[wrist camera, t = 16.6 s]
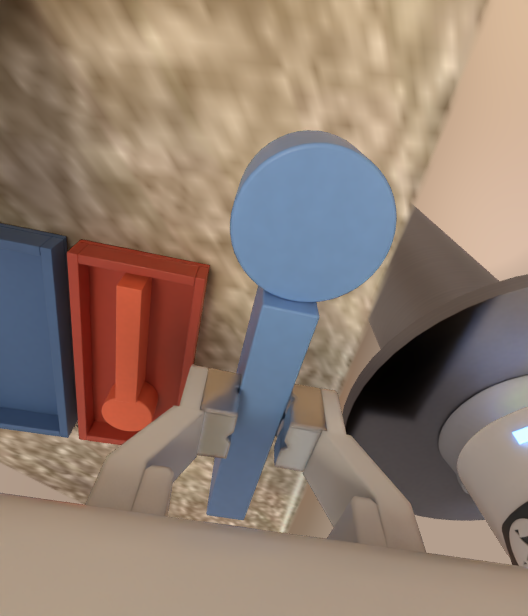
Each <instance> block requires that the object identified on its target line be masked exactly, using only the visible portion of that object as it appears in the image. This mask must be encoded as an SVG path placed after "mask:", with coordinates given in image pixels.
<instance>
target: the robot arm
mask: <svg viewBox="0 0 528 616" xmlns="http://www.w3.org/2000/svg"><path fill="white" fill-rule="evenodd" d="M208 370H209V371H208ZM241 377H242V376H241V374H238V373H233V372H228V371H223V370H219V369H214V368H207V367H202V366H198V365H193V364H192V365H191V367H190V370H189V374H188V377H187V381H186V384H185V388H184V391H183V395H182V398H181V402H180V405H179V406H173V407H171V408H170V409H169V410H167V411H166V412H165V413H163V414H162V415H161V416H159V417H158V418H157V419H155V420H154V421H153V422H151V423H150V424H149V425H147V426H146V427H145V428H143V429H142V430H141V431H139V432H138V433H137V434H135V435H134V436H133V437H131V438H130V439H129V440H127V441H126V442H125V443H123V444H122V445H121V446H119V447H118V448H117V449H115V450H114V451H113V452H111V453H110V454H109V455H107V456H106V459H105V461H104V463H103V465H102V468H101V470H100V472H99V474H98V477H97V479H96V481H95V483H94V486H93V488H92V490H91V492H90V495H89V497H88V499H87V501H86V503H85V505H83V504H76V503H68V502H61V501H53V500H47V499H40V498H33V497H26V496H18V495H12V494H5V493H0V616H528V375H525V376H521V377H517V378H513V379H510V380H507V381H504V382H501V383H499V384H496V385H494V386H491V387H489V388H487V389H485V390H483V391H481V392H479V393H478V394H476V395H474V396H473V397H471V398H470V399H468V400H467V401H466V402H464V403H463V404H462V405H461V406H459V407H458V408H457V409H456V410H455V411H454V412H453V413H452V414H451V415H450V417H449V418H448V419H447V421H446V422H445V424H444V426H443V427H442V430H441V432H440V435H439V441H438V446H439V451H440V453H441V455H442V457H443V459H444V460H445V461H446V462H447V463H448V465H449V466H450V467H451V468H452V470H453V471H454V472H455V474H456V475H457V480H458V483H459V484H460V486H461V488H462V489H463V491H464V492H465V493H467V494H470V496H471V497H472V499H473V500H474V502H475V504H476V505H477V507H478V509H479V510H480V512H481V514H482V515H483V517H484V518H485V520H486V522H487V523H488V525H489V527H490V528H491V530H492V531H493V533H494V535H495V536H496V538H497V539H498V541H499V543H500V544H501V546H502V547H503V549H504V551H505V552H506V554H507V555H508V556H509V557H510V559H511V562H512V565H509V564H501V563H495V562H488V561H481V560H474V559H466V558H460V557H452V556H445V555H438V554H431V553H426V550H425V547H424V544H423V541H422V537H421V534H420V531H419V528H418V525H417V522H416V519H415V515H414V512H413V509H412V506H411V503H410V502H409V501H408V500H407V499H406V498H405V497H404V495H403V494H402V493H401V492H400V491H399V490H398V489H397V487H396V486H395V485H394V484H393V483H392V482H391V481H390V479H389V478H388V477H387V476H386V475H385V474H384V473H383V471H382V470H381V469H380V468H379V467H378V466H377V465H376V463H375V462H374V461H373V460H372V459H371V458H370V457H369V455H368V454H367V453H366V452H365V451H364V450H363V449H362V447H361V446H360V445H359V444H358V443H357V442H356V441H355V439H354V438H353V437H352V436H350V435H346V430H345V426H344V421H343V416H342V411H341V407H340V402H339V397H338V393H337V392H336V391H335V390H329V389H323V388H316V387H310V386H304V385H299V384H294V387H293V389H292V392H291V395H290V397H289V400H288V403H287V405H286V408H285V411H284V414H283V416H282V419H281V421H280V424H279V427H278V429H277V432H276V437H277V440H276V443H275V446H274V463H275V467H280V468H285V469H290V470H296V471H301V472H303V475H304V476H305V478H306V480H307V482H308V483H309V485H310V487H311V489H312V490H313V492H314V494H315V496H316V497H317V499H318V501H319V503H320V504H321V506H322V508H323V510H324V511H325V513H326V515H327V517H328V518H329V520H330V522H331V523H332V525H333V527H334V528H333V530H332V531H331V533H330V534H329V536H328V537H327V539H323V538H317V537H310V536H302V535H295V534H288V533H281V532H274V531H267V530H260V529H253V528H246V527H239V526H232V525H225V524H218V523H211V522H203V521H196V520H189V519H182V518H175V517H168V510H169V504H170V497H171V491H172V485H173V482H174V481H175V480H176V479H177V477H178V476H179V475H180V474H181V473H182V472H183V471H184V470H185V469H186V468H187V466H188V465H189V464H190V463H191V462H192V461H193V460H194V459H195V458H196V456H197V455H200V456H208V457H216V458H223V459H226V458H227V455H228V451H229V448H230V444H231V436H232V433H234V429H235V425H236V421H237V418H238V412H239V403H240V395H239V389H240V385H241Z"/></svg>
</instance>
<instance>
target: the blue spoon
mask: <svg viewBox="0 0 528 616" xmlns="http://www.w3.org/2000/svg"><path fill="white" fill-rule="evenodd" d="M396 219H397V218H396V205H395V200H394V196H393V193H392V190H391V188H390V186H389V184H388V182H387V180H386V178H385V177H384V175H383V174H382V173H381V171H380V170H379V168H377V167H376V166H375V165H374V164H373V163H372V162H371V161H370V160H369V159H368V158H367V157H366V156H365V155H363V154H362V153H361V152H360V151H359V150H358V149H357V148H355V147H354V146H353V145H352V144H350V143H349V142H347V141H346V140H344V139H342V138H340V137H338V136H336V135H333V134H330V133H327V132H322V131H310V130H307V131H298V132H294V133H290V134H287V135H284V136H282V137H279V138H277V139H276V140H274V141H272V142H270V143H269V144H268V145H266V146H265V147H264V148H263V149H261V150H260V151H259V152H258V153H257V154H256V155H255V156H254V158H253V159H252V160H251V162H250V163H249V165H248V166H247V168H246V170H245V172H244V174H243V176H242V179H241V181H240V184H239V187H238V191H237V194H236V197H235V201H234V204H233V208H232V212H231V219H230V235H231V242H232V246H233V249H234V253H235V255H236V257H237V259H238V262H239V263H240V265H241V267H242V268H243V270H244V271H245V272H246V274H247V275H248V276H249V277H250V278H251V279H252V280H253V281H254V282H255V283H256V284H257V285H258V289H257V293H256V297H255V301H254V304H253V308H252V312H251V316H250V320H249V324H248V328H247V332H246V336H245V340H244V344H243V348H242V352H241V356H240V360H239V364H238V368H237V372H236V373H238V374H241V376H242V377H241V385H240V389H239V395H240V403H239V412H238V418H237V421H236V425H235V429H234V433H232V436H231V444H230V448H229V451H228V455H227V458H226V459H223V458H216V457H215V460H214V466H213V473H212V480H211V486H210V493H209V499H208V506H207V515H210V516H217V517H224V518H231V519H238V520H244V518H245V515H246V513H247V510H248V507H249V505H250V502H251V499H252V497H253V494H254V491H255V489H256V486H257V483H258V481H259V478H260V475H261V473H262V470H263V467H264V464H265V462H266V459H267V456H268V454H269V451H270V448H271V446H272V443H273V440H274V438H275V435H276V432H277V429H278V427H279V424H280V421H281V419H282V416H283V414H284V411H285V408H286V405H287V403H288V400H289V397H290V395H291V392H292V389H293V387H294V384H295V381H296V379H297V376H298V373H299V371H300V368H301V365H302V363H303V360H304V357H305V355H306V352H307V349H308V347H309V344H310V341H311V339H312V336H313V333H314V331H315V328H316V325H317V323H318V320H319V313H318V308H317V303H316V302H320V301H326V300H330V299H334V298H337V297H340V296H342V295H344V294H347V293H349V292H350V291H352V290H354V289H356V288H357V287H359V286H360V285H361V284H363V283H364V282H365V281H366V280H368V279H369V278H370V277H371V276H372V275H373V274H374V273H375V271H376V270H377V269H378V268H379V267H380V265H381V264H382V262H383V261H384V259H385V257H386V255H387V254H388V252H389V250H390V247H391V244H392V241H393V238H394V234H395V229H396Z"/></svg>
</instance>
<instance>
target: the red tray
mask: <svg viewBox="0 0 528 616" xmlns="http://www.w3.org/2000/svg"><path fill="white" fill-rule="evenodd" d="M67 263H68V278H69V293H70V308H71V323H72V338H73V353H74V368H75V383H76V398H77V414H78V429H79V439H81V440H88V441H96V442H103V443H110V444H117V445H122V444H123V443H125V442H126V441H127V440H129V439H130V438H131V437H133V436H134V435H135V434H137V433H138V432H139V431H141V430H139V431H124V430H120V429H117V428H115V427H113V426H111V425H110V424H109V423H107V422H106V420H105V419H104V418H103V415H102V406H103V404H104V402H105V400H106V398H107V396H108V394H109V392H110V390H111V387H112V386H113V384H115V383H116V286H117V284H118V283H119V282H120V280H121V279H122V277H123V276H124V274H125V273H130V274H135V275H140V276H146V277H151V278H152V289H151V303H150V318H149V332H148V347H147V362H146V376H145V382H147V383H149V384H150V385H152V386H153V387H154V388H155V390H156V391H157V393H158V403H157V406H156V409H155V413H154V416H153V419H152V422H153V421H154V420H155V419H157V418H158V417H159V416H161V415H162V414H163V413H165V412H166V411H167V410H169V409H170V408H171V407H173V406H179V405H180V402H181V398H182V395H183V391H184V388H185V384H186V381H187V377H188V374H189V370H190V367H191V365H192V364H193V365H194V359H195V353H196V347H197V341H198V335H199V329H200V322H201V316H202V310H203V304H204V298H205V292H206V286H207V279H208V273H209V267H210V265H206V264H201V263H196V262H191V261H186V260H181V259H176V258H171V257H166V256H162V255H157V254H152V253H147V252H142V251H137V250H132V249H127V248H122V247H117V246H112V245H107V244H102V243H97V242H92V241H87V240H82V239H81V240H80V241H78V243H76V244H75V245H74V246H73V247H72V248H71V249H70V250H69V251H68V252H67Z"/></svg>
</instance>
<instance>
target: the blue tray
mask: <svg viewBox="0 0 528 616" xmlns="http://www.w3.org/2000/svg"><path fill="white" fill-rule="evenodd" d="M77 420H78V414H77V398H76V383H75V368H74V353H73V338H72V323H71V308H70V293H69V278H68V263H67V239H66V236H62V235H57V234H52V233H47V232H42V231H37V230H32V229H27V228H22V227H17V226H12V225H8V224H3V223H0V428H2V429H9V430H17V431H24V432H31V433H38V434H45V435H53V436H61V437H67V438H68V437H69V435H70V433H71V431H72V429H73V428H74V426H75V424H76V422H77Z"/></svg>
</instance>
